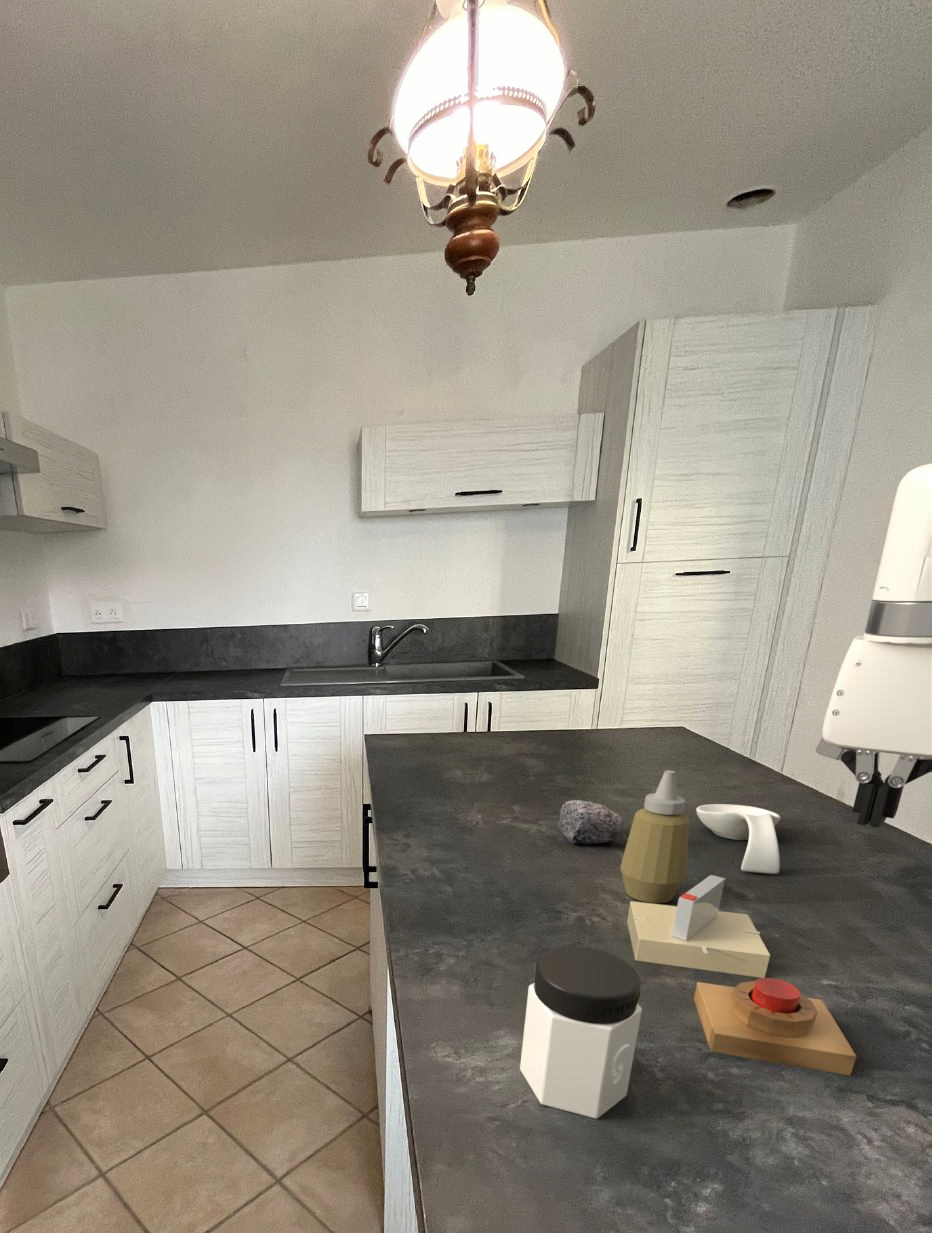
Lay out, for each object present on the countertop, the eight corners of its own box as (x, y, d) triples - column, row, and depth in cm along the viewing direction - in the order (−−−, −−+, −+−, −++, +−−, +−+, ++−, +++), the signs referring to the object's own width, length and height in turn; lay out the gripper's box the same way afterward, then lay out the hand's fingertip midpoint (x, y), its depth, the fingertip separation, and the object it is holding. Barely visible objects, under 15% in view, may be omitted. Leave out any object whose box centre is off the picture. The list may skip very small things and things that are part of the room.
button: (789, 996, 67) (794, 981, 66) (801, 1017, 64) (806, 1002, 63) (747, 990, 68) (750, 975, 67) (756, 1011, 65) (760, 995, 64)
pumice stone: (609, 846, 118) (552, 824, 121) (629, 806, 115) (570, 785, 118) (609, 867, 109) (547, 843, 112) (630, 825, 106) (566, 802, 109)
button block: (817, 1017, 69) (826, 984, 68) (850, 1076, 61) (862, 1039, 60) (693, 999, 73) (700, 966, 71) (710, 1052, 65) (718, 1017, 64)
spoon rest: (687, 818, 122) (694, 780, 120) (763, 824, 119) (772, 785, 116) (715, 871, 102) (725, 826, 99) (809, 880, 98) (822, 833, 95)
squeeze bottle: (617, 879, 101) (635, 761, 94) (680, 888, 97) (703, 766, 91) (615, 902, 94) (635, 777, 87) (682, 912, 90) (708, 783, 84)
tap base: (740, 929, 86) (746, 907, 85) (769, 986, 74) (776, 961, 73) (625, 915, 90) (628, 894, 89) (635, 967, 79) (639, 943, 78)
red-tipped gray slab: (703, 911, 84) (711, 872, 83) (717, 915, 83) (725, 876, 81) (671, 936, 79) (679, 895, 77) (686, 941, 78) (694, 900, 76)
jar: (583, 1134, 56) (602, 1012, 52) (502, 1079, 63) (513, 967, 58) (642, 1087, 61) (664, 972, 57) (561, 1041, 67) (575, 934, 63)
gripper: (1055, 617, 55) (987, 828, 62) (828, 617, 66) (790, 797, 73) (1046, 627, 51) (974, 853, 57) (804, 625, 62) (766, 816, 68)
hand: (871, 821), depth 65 cm, fingers closed
